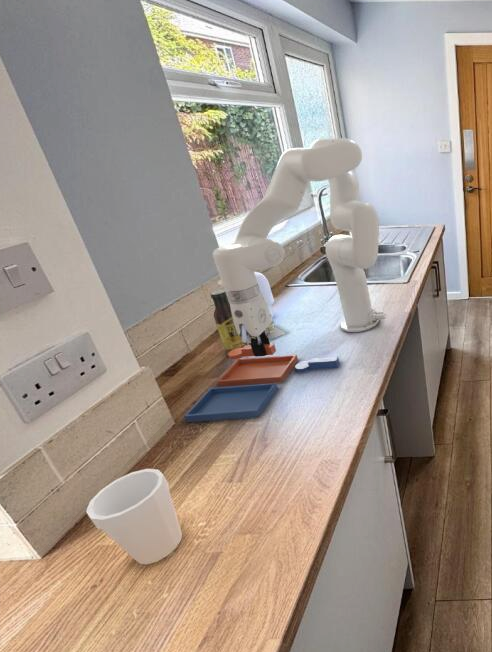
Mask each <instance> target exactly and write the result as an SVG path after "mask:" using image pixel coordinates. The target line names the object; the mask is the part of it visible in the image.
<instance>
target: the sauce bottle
mask: <svg viewBox="0 0 492 652" xmlns="http://www.w3.org/2000/svg"><path fill="white" fill-rule="evenodd" d="M209 294H210V298H211V299H212V301H213V305H214V307H215V308H214V311H213V318H214V322H215V325H216V328H217V331H218V335H219V337H220V339H221V343H222V346H223V348H224V349H225V350H224V351H225V352H226V354H228V353H229V352H230V351H232V350H234V349H237V348H243V347H244V346H246V345H248V344H243V343H242V338H241V337H240V336H239V335H238V333H237V330H236V328H235V325H234V321H233V317H232V313H231V307H230V302H229V301H228V298H227V296H226V293H225V290H224V289H218V290H214V291H212V292H210V293H209Z"/></svg>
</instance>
